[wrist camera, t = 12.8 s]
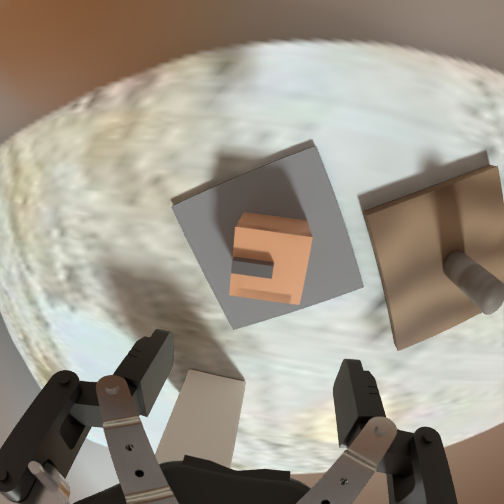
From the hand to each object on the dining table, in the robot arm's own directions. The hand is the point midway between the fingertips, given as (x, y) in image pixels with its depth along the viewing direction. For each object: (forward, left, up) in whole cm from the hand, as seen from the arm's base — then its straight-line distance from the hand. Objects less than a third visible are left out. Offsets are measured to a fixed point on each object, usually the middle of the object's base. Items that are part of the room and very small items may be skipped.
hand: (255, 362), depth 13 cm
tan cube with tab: (0, 0, -15) cm, 15 cm away
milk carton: (-16, +14, -16) cm, 26 cm away
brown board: (-8, -17, -16) cm, 24 cm away
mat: (0, 0, -16) cm, 16 cm away
